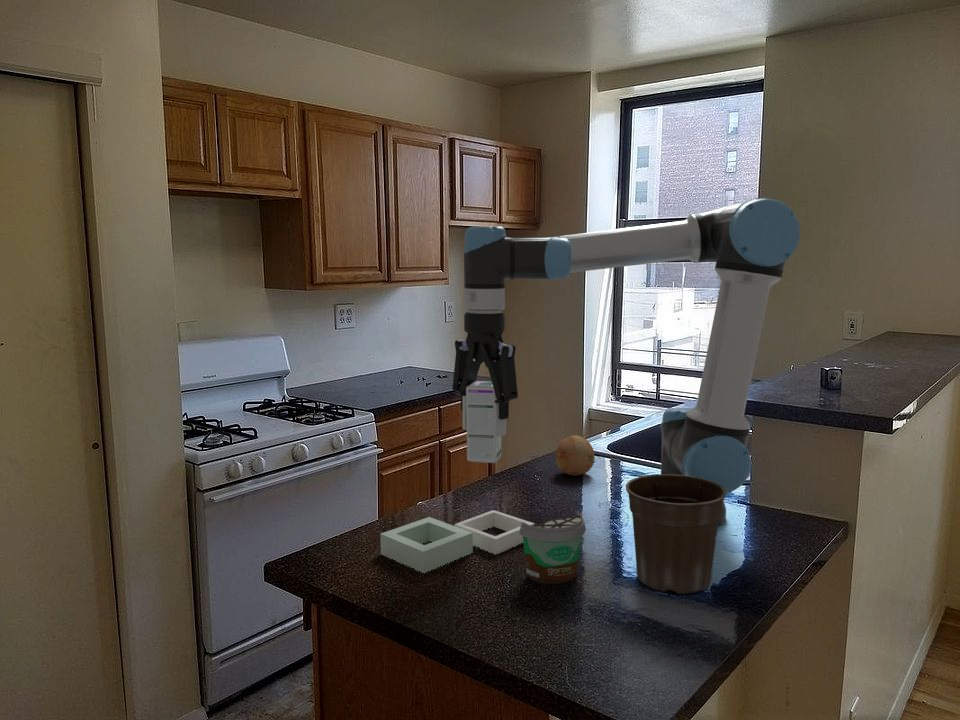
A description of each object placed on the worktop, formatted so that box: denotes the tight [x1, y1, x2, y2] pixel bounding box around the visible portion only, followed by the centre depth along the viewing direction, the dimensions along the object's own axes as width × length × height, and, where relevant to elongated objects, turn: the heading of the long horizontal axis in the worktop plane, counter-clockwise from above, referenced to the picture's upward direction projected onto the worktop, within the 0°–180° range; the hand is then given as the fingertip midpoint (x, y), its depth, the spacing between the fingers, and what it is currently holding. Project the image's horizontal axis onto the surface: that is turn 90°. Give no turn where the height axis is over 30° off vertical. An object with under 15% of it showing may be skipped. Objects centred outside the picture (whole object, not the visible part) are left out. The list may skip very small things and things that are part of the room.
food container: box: [519, 510, 587, 585], centre depth 124 cm, size 12×6×10 cm, turn 117°
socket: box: [379, 516, 474, 574], centre depth 135 cm, size 12×12×4 cm
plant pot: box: [625, 473, 727, 595], centre depth 123 cm, size 16×16×16 cm
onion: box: [555, 434, 595, 477], centre depth 182 cm, size 10×10×10 cm
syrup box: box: [466, 380, 503, 464], centre depth 138 cm, size 6×6×14 cm
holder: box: [453, 509, 536, 556], centre depth 142 cm, size 11×11×3 cm
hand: (484, 431), depth 138 cm, fingers closed on syrup box, 7 cm apart
